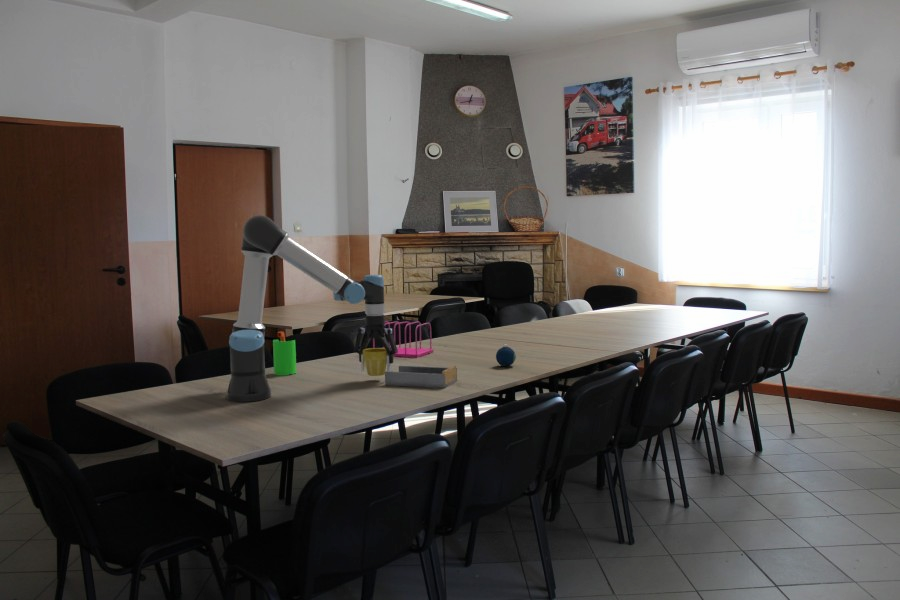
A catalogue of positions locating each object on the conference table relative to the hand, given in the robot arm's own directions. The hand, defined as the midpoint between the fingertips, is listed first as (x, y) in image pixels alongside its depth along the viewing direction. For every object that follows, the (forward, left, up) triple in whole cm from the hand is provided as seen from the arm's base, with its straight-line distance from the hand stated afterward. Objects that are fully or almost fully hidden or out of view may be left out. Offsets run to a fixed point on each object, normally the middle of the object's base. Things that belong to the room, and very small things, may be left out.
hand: (376, 371), depth 276 cm
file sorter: (+64, +17, -4) cm, 66 cm away
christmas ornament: (+42, -41, -4) cm, 59 cm away
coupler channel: (0, -19, -4) cm, 19 cm away
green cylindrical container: (+4, +44, -4) cm, 45 cm away
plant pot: (0, 0, -2) cm, 2 cm away
